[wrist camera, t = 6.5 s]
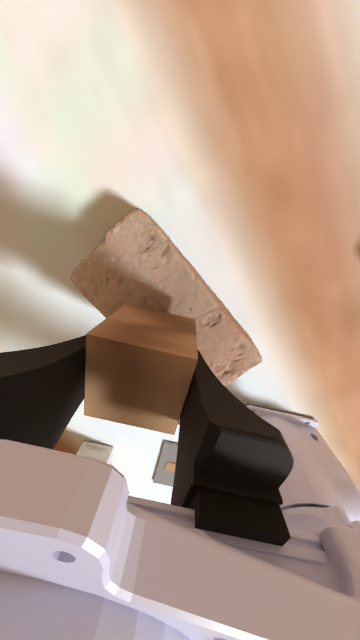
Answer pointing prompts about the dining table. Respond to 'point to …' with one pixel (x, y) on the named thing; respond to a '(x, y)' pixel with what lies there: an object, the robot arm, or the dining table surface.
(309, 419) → the robot arm
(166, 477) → the card
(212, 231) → the dining table surface
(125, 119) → the dining table surface
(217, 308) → the brick
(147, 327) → the walnut block
